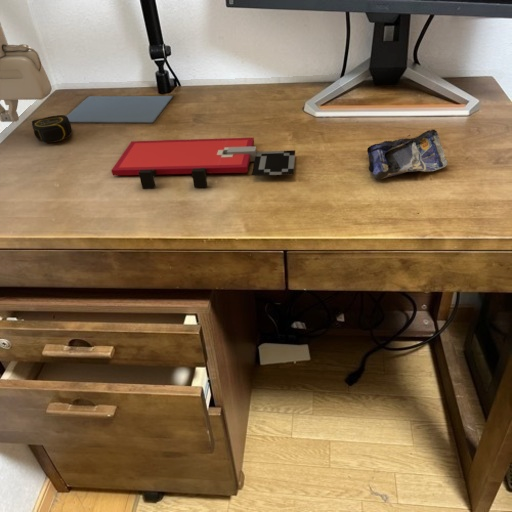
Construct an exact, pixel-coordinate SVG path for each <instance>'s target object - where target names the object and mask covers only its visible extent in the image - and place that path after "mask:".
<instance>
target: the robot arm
mask: <svg viewBox="0 0 512 512" xmlns="http://www.w3.org/2000/svg"><path fill="white" fill-rule="evenodd" d="M1 23H2V22H0V102H1V101H3V102H4V104H5V106H8V109H6V108H5V107H4V106H3V105H2V104H1V103H0V122H1V123H16V122H18V121H19V119H20V116H19V114H18V111H17V110H18V105H19V101H25V100H29V101H30V100H31V101H33V100H34V101H35V100H38V101H39V100H44V99H45V98H47V97H48V96H49V95H50V94H51V92H52V89H53V86H52V84H51V81H50V79H49V76H48V73H47V72H46V70H45V68H44V66H43V64H42V60H41V58H40V54H39V53H38V51H36V50H35V49H34V48H33V47H30V46H29V45H27V44H9V43H8V40H7V38H6V35H5V32H4V29H3V26H2V24H1Z"/></svg>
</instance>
